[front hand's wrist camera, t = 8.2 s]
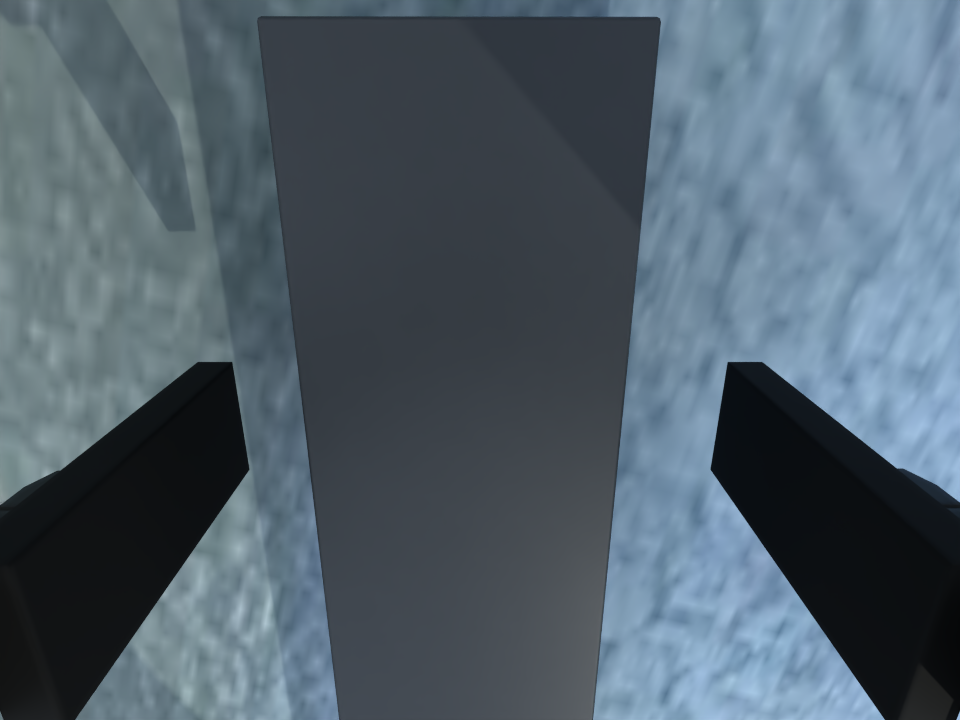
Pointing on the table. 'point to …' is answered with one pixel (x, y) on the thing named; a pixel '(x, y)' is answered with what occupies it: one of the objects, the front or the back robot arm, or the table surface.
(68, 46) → the table surface
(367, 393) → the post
